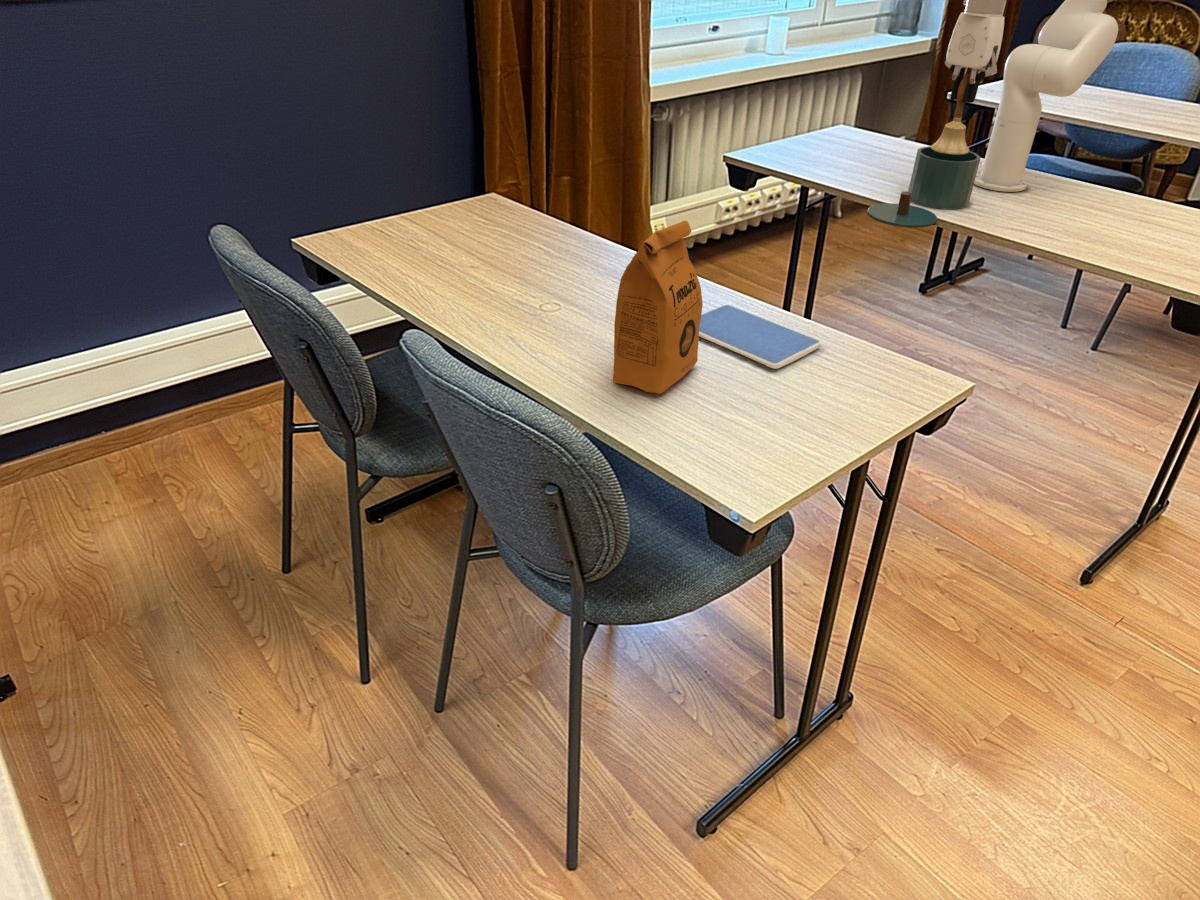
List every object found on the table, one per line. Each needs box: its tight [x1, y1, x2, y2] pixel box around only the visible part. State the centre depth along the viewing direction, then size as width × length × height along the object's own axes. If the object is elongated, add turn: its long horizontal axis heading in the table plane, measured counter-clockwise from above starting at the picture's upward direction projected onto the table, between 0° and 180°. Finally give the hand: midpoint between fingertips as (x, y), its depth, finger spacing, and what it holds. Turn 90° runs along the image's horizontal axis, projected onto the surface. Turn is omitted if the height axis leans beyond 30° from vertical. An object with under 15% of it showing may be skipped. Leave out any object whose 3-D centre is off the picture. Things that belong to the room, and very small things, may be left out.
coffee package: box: [612, 220, 704, 394], centre depth 119 cm, size 10×12×22 cm
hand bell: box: [930, 73, 971, 155], centre depth 190 cm, size 8×8×16 cm
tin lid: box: [866, 191, 938, 229], centre depth 186 cm, size 15×15×6 cm
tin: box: [907, 145, 981, 210], centre depth 198 cm, size 14×14×10 cm
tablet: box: [699, 304, 822, 369], centre depth 135 cm, size 19×13×1 cm, turn 44°
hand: (962, 100), depth 188 cm, fingers closed on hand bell, 2 cm apart
